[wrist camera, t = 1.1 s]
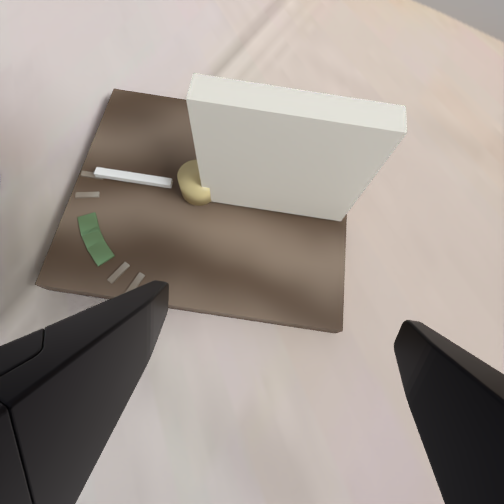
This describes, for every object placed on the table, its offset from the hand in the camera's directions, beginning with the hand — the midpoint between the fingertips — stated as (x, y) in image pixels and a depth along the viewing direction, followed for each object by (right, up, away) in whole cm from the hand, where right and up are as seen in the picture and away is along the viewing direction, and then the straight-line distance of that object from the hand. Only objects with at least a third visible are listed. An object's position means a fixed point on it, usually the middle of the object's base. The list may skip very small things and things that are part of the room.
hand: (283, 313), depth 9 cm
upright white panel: (-3, +6, +13) cm, 15 cm away
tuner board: (-4, +6, +15) cm, 17 cm away
